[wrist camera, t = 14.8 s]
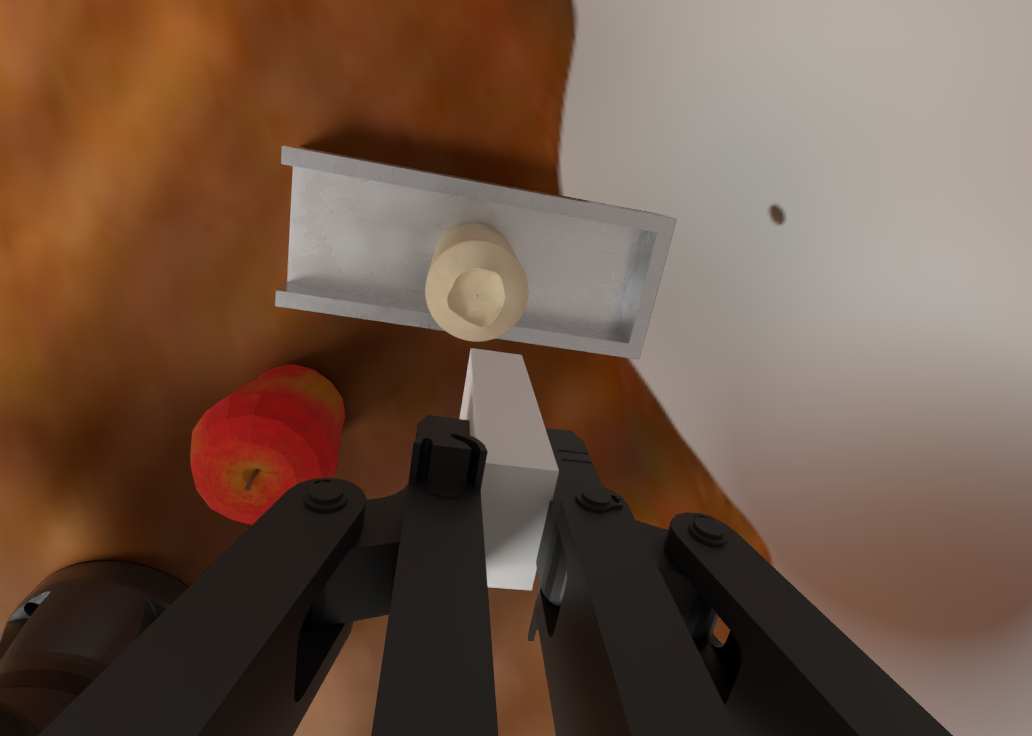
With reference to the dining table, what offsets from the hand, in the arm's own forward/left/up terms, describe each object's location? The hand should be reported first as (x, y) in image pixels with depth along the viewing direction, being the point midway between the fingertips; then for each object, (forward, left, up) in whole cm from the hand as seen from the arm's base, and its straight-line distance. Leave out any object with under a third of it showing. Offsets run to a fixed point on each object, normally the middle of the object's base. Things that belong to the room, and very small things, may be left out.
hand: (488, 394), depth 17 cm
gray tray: (0, 0, -24) cm, 24 cm away
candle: (0, 0, -23) cm, 23 cm away
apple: (-11, -13, -25) cm, 30 cm away
